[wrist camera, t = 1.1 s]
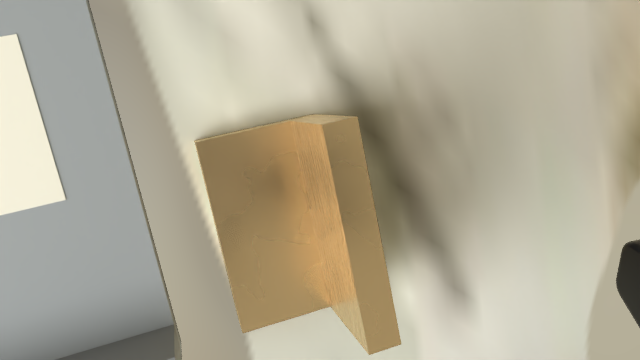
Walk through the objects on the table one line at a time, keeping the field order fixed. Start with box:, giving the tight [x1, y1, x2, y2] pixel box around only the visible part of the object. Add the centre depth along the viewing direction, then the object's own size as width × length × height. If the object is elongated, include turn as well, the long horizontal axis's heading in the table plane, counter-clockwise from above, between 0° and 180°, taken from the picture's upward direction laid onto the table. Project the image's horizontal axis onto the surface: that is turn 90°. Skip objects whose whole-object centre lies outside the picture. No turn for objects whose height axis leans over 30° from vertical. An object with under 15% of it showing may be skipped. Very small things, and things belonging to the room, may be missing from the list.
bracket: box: [194, 114, 401, 355], centre depth 21 cm, size 8×5×6 cm, turn 12°
